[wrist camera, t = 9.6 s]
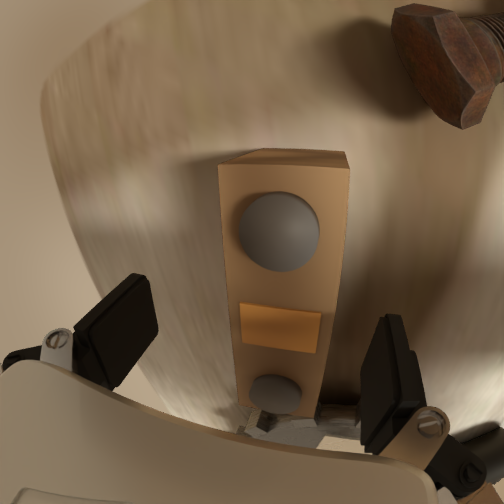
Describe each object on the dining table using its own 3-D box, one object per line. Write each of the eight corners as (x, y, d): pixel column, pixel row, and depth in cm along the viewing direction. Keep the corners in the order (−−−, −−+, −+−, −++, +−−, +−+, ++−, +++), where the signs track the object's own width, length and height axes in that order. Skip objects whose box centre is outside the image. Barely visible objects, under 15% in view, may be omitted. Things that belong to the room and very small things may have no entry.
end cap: (507, 414, 16) (518, 464, 10) (500, 439, 18) (506, 482, 12) (425, 446, 20) (426, 499, 15) (429, 465, 22) (429, 510, 16)
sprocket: (469, 404, 15) (481, 472, 9) (379, 483, 23) (373, 527, 17) (246, 372, 19) (212, 450, 13) (235, 460, 27) (216, 504, 21)
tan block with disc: (344, 151, 13) (350, 171, 7) (325, 343, 18) (311, 426, 12) (264, 148, 14) (209, 167, 8) (266, 335, 19) (235, 413, 13)
